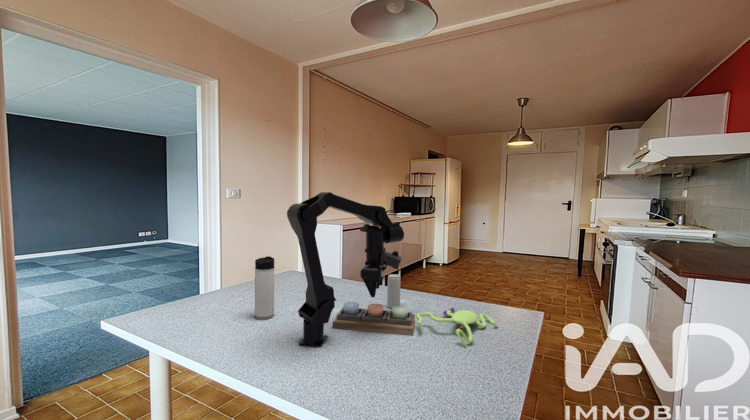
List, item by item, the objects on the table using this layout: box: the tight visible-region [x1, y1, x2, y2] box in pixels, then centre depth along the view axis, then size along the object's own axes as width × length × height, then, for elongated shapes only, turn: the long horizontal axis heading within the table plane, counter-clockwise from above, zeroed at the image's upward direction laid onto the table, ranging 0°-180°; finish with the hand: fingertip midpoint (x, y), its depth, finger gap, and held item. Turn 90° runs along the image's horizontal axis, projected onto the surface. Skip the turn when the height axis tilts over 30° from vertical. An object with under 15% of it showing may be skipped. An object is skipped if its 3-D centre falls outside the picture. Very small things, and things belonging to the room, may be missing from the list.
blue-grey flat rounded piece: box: [343, 301, 360, 315], centre depth 107 cm, size 5×5×2 cm
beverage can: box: [386, 273, 401, 310], centre depth 123 cm, size 5×5×12 cm
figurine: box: [415, 307, 498, 349], centre depth 104 cm, size 18×27×6 cm
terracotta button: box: [367, 303, 384, 317], centre depth 105 cm, size 5×5×2 cm
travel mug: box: [254, 256, 275, 321], centre depth 111 cm, size 6×7×20 cm
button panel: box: [332, 306, 416, 336], centre depth 106 cm, size 12×25×4 cm, turn 80°
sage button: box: [391, 304, 409, 319], centre depth 104 cm, size 5×5×2 cm
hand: (375, 292), depth 106 cm, fingers open, 9 cm apart
